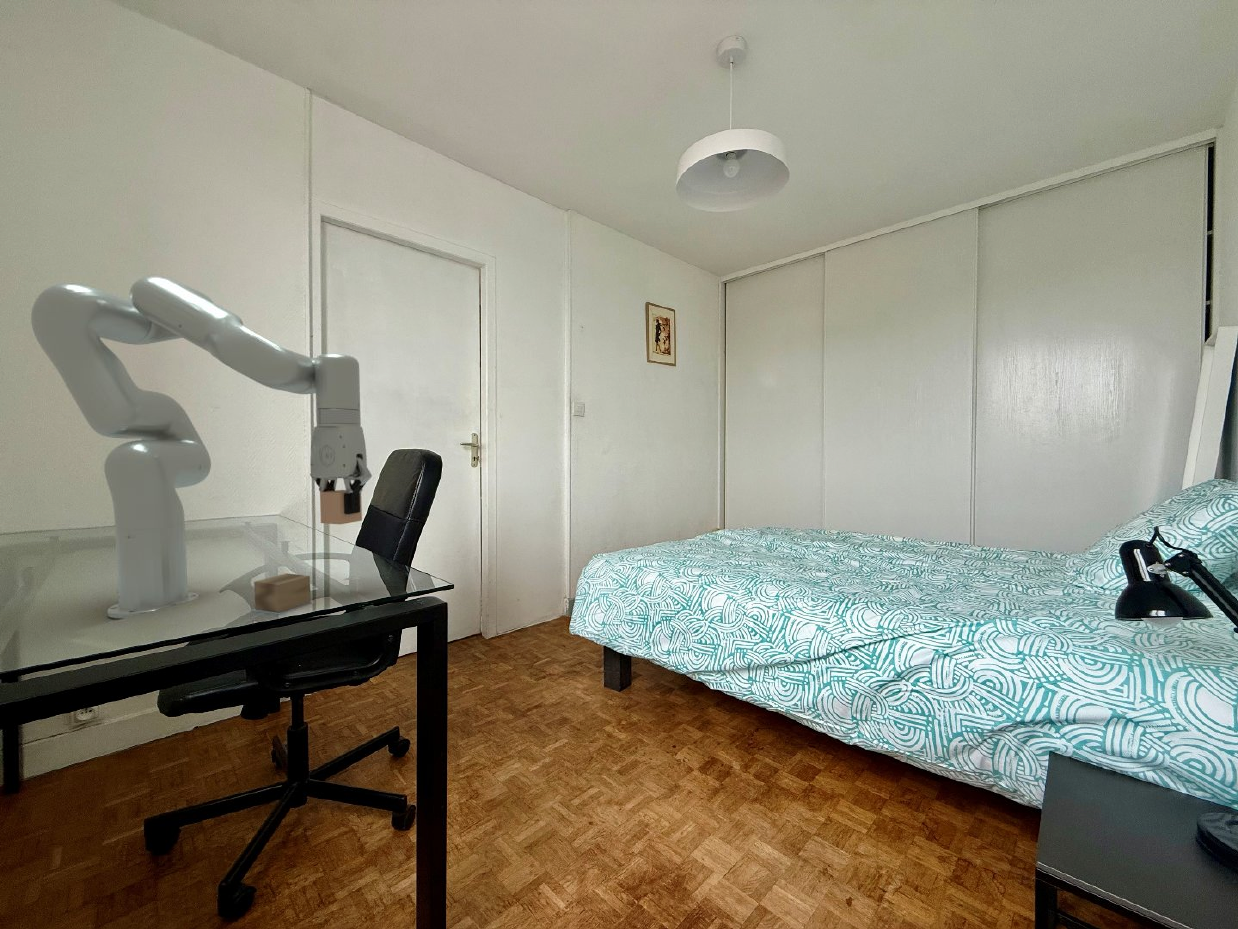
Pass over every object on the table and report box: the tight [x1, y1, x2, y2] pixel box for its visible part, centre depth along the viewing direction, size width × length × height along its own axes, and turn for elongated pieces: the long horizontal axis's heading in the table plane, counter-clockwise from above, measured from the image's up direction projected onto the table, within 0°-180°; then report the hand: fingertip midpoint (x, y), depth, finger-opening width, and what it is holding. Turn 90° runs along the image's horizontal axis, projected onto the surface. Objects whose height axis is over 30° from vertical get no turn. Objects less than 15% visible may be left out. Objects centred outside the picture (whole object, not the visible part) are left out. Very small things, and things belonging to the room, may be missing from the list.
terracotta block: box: [319, 489, 363, 525], centre depth 98 cm, size 5×5×6 cm
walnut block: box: [253, 573, 312, 613], centre depth 91 cm, size 6×6×5 cm
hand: (341, 511), depth 98 cm, fingers closed on terracotta block, 4 cm apart
